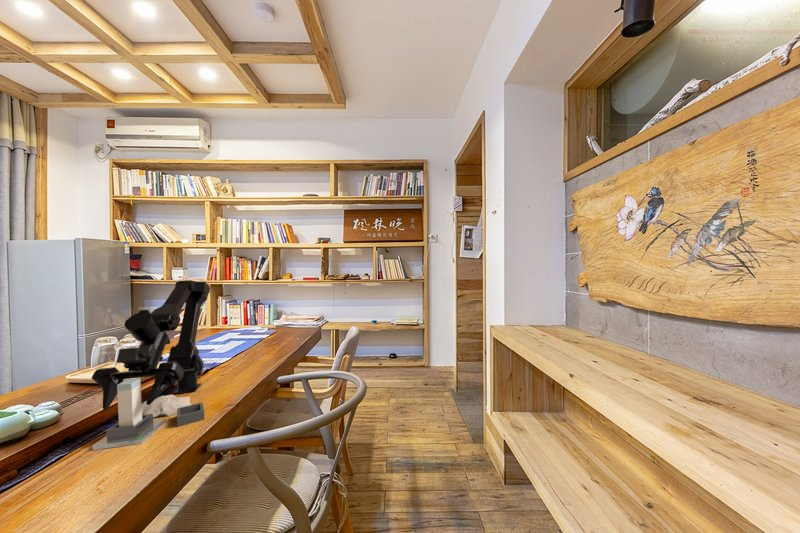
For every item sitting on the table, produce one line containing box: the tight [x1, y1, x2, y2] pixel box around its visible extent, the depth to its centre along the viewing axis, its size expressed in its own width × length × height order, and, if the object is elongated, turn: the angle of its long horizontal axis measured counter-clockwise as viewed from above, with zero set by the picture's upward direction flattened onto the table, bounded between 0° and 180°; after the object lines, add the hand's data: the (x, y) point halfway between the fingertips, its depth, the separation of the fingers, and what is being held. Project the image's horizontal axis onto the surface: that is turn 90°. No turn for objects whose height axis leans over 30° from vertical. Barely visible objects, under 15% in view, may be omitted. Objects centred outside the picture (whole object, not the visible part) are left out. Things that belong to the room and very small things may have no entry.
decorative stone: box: [142, 394, 192, 419], centre depth 91 cm, size 11×4×15 cm
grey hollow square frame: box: [176, 402, 205, 427], centre depth 85 cm, size 7×6×2 cm
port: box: [92, 414, 166, 451], centre depth 78 cm, size 10×10×4 cm
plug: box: [117, 378, 143, 427], centre depth 78 cm, size 4×3×12 cm
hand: (126, 406), depth 76 cm, fingers open, 9 cm apart
